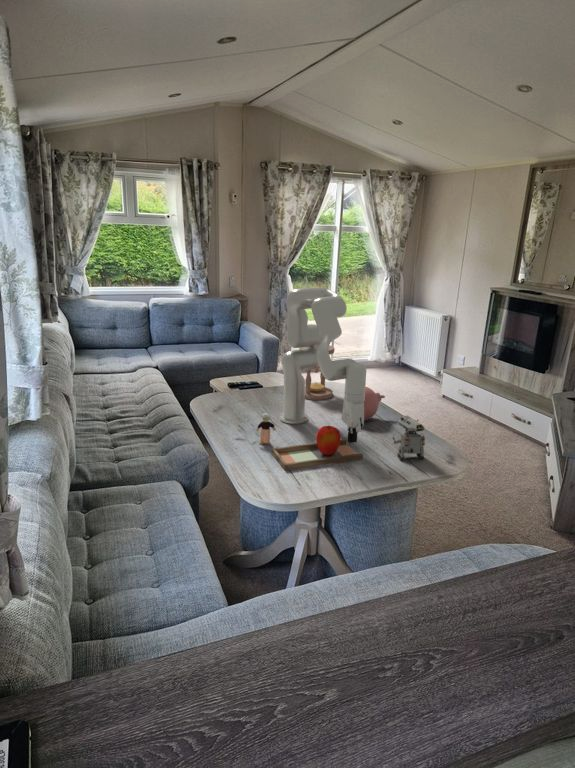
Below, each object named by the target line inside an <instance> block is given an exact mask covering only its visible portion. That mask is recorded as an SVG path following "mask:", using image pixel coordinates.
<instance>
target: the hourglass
mask: <svg viewBox="0 0 575 768" xmlns="http://www.w3.org/2000/svg"><path fill="white" fill-rule="evenodd" d="M299 349H307V347H301V348H298V350H299ZM335 349H336V348H335V347H334V346H333V345H329V355H333V354H334V353H335ZM313 370H314V373H315V374H317V373H318V372H319V370H320V367H319V366H318V367H317V368H316V369H313ZM311 373H312V370H306V375H305V376H306V377H305V400H310V401H324V400H327V399H331V398H332V397H333V394H334V393H333V390H332V389H331V388H329V387H326V379H325V378H324V376H323V374H322V372H321V371H320V373H319V374H320V375H319V376H320V383H319V382H316V381H315V382H312V375H311Z"/></svg>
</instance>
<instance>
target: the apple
mask: <svg viewBox="0 0 575 768" xmlns="http://www.w3.org/2000/svg"><path fill="white" fill-rule="evenodd" d="M315 439H316V443H317V446H318V448H319V451H320V452H321V453H322V454H323V455H326V456H331V455H333V454H335V453H336V452H337V449H338V447H339V445H340V441H341V440H342V435H341V432H340V430H339V429H338V428H337V427H335V426H332V425H324V426H322V427H320V428H319V429H318V430H317V433H316V435H315Z"/></svg>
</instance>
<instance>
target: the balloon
mask: <svg viewBox="0 0 575 768" xmlns="http://www.w3.org/2000/svg"><path fill="white" fill-rule="evenodd" d="M385 398H386V396H385V395H383V394H381V393H379V392H375V391H374V390H373V389H372V388H370V387H367V386H365V401H364V421H367V420H369V419H371V418H373V417H374V416H375V415H376V414H377V412H378V409H379V405H380V402H381V401H382V399H385Z"/></svg>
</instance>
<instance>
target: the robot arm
mask: <svg viewBox="0 0 575 768" xmlns="http://www.w3.org/2000/svg"><path fill="white" fill-rule="evenodd" d="M285 302H286V303H285V305H286V311H287V326H286V343H287V346H289V347H290V348H293V349H294V350H293V349H292V350H288V351H287V352H285V353H283V355H282V356H281V365H282V371H283V372H282V373H283V407H282V408H283V409H282V411H283V412H282V413H281V414H280V415H279V420H280V421H281V422H283V423H285V424H290V425H291V424H294V425H297V424H304V423H306V422H307V421H308V419H309V416H308V415H307V414H305V413H306V412H305V410H306V409H305V408H306V399H305V387H306V382H305V380H306V378H305V377H304V376H303V374H302V372H305V371H306V370H311V371H312V370H314V369H316V368H317V367H318V366H319V367H320V368H319V370H320V373H321V372H322V374H323V376H324V378H325V380H326V381H329V382H334V381H339V380H345V383H344V385H345V386H344V399H343V404H342V411H341V421H342V422H343V423H344V424H345V425H347V442H348V443H349V444H351V443H353V444H354V443H358V434H359V432H362V428H363V427H364V423H365V420H364V401H365V387H366V383H367V381H366V380H367V367H366V365H365V364H363V363H359V362H357V360H356V361H355V360H354V359H352V358H341V359H335V360H332V359H331V356H330V355H331V354H330V355H329V345H330V344H331V343H332V342H334V341H336V340H337V339H338V338H339V337H340V336H342V332H343V331H342V328H341V325H340V322H339V319H338V318H341V317H344V316H345V315H346V313H347V303H346V302H345V300H344V299H343V297H342V296H341V295H339V294H338V293H336V292H334V291H332V290H331V289H329V288H327V287H324V286H323V287H320V286H318V287H301V288H294V289H292V290H291V291H289V292H288V294H287V296H286V299H285ZM309 309H311V312H312V316H313V318H314V321H315V324H313V323H311V324H308V320H309V315H308V313H307V311H306V310H309ZM330 346H331V345H330ZM301 347H307V349H299V348H301ZM306 372H307V371H306Z"/></svg>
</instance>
